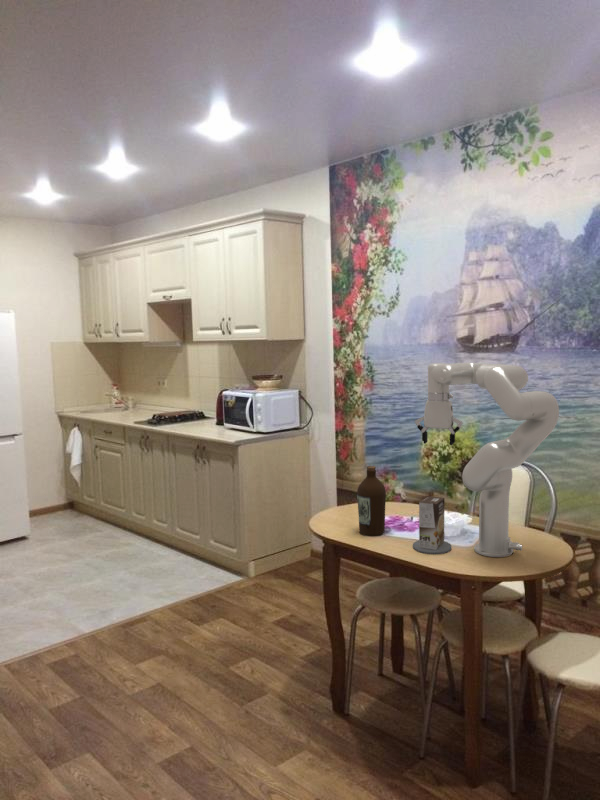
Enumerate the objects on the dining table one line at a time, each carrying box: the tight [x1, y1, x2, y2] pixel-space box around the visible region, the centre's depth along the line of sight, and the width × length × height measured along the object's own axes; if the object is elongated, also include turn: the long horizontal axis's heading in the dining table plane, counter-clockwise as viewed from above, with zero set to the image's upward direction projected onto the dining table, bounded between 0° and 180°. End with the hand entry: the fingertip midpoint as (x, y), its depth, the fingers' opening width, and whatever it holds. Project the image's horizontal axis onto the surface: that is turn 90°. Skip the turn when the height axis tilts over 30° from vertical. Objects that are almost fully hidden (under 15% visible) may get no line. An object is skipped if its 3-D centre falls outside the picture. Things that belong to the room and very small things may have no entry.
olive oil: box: [356, 465, 387, 537], centre depth 243 cm, size 11×11×25 cm
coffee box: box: [418, 496, 445, 550], centre depth 225 cm, size 9×6×16 cm
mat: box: [412, 539, 452, 555], centre depth 226 cm, size 13×13×1 cm
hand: (438, 443), depth 239 cm, fingers open, 9 cm apart
